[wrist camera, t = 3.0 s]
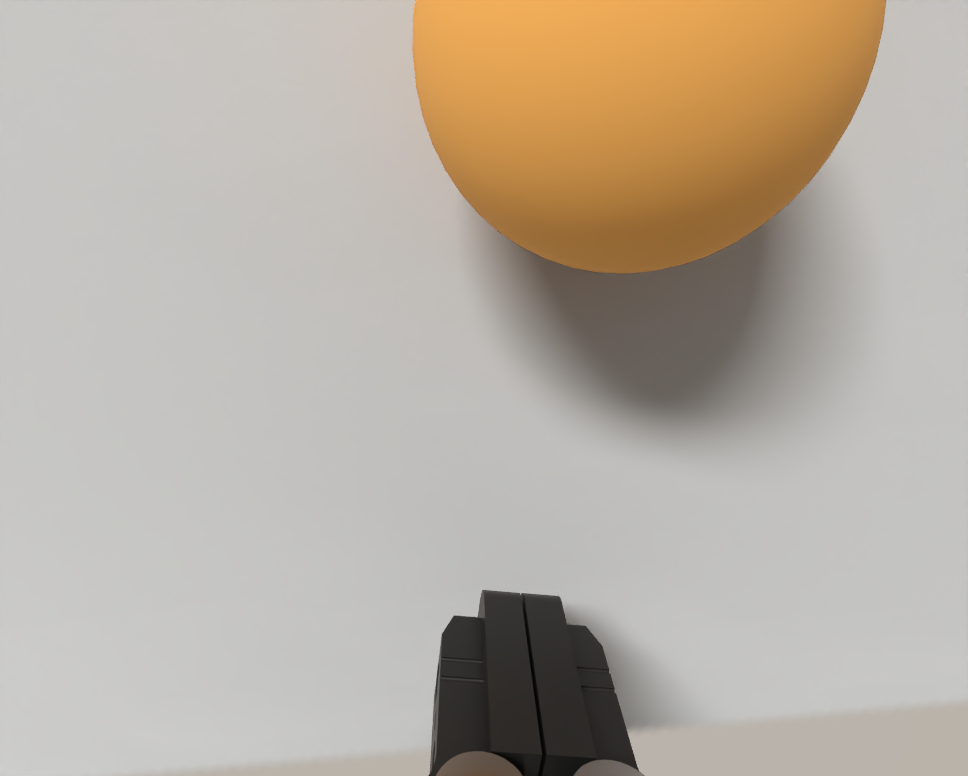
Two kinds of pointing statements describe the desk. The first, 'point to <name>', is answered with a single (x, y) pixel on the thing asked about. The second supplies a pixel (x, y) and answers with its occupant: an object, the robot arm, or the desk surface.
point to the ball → (638, 116)
